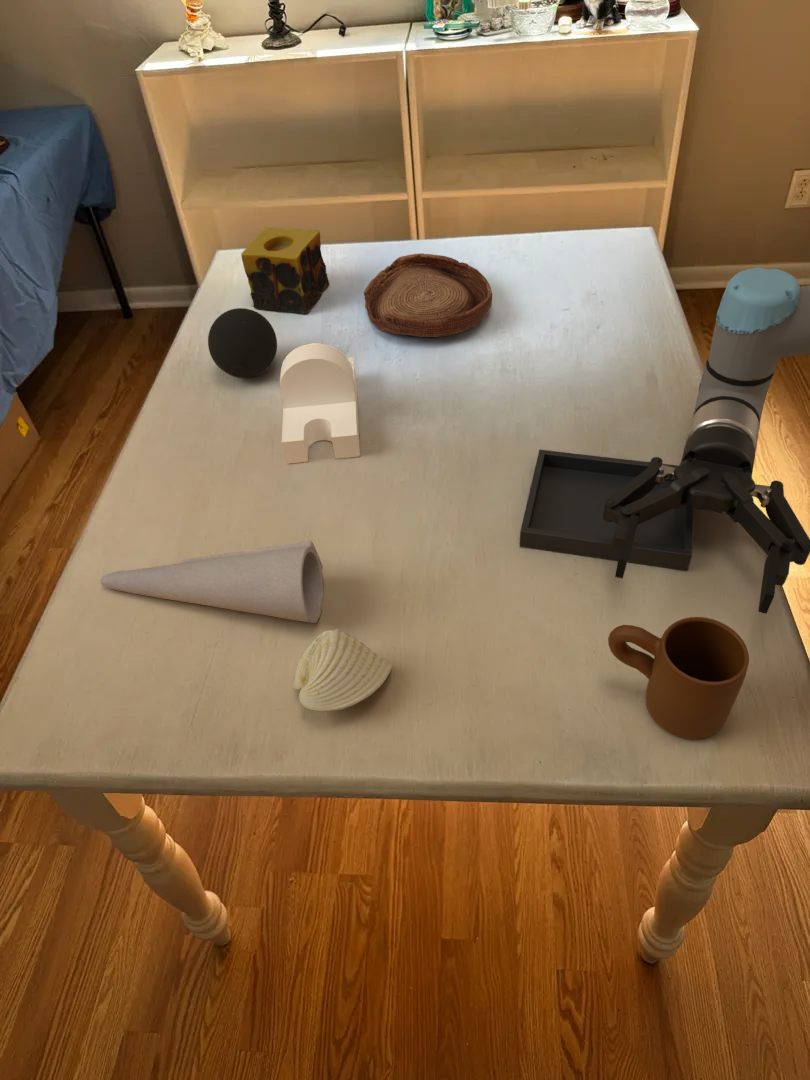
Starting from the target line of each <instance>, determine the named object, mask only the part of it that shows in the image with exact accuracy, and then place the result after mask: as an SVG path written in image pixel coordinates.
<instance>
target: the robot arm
mask: <svg viewBox="0 0 810 1080" xmlns="http://www.w3.org/2000/svg"><path fill="white" fill-rule="evenodd" d="M715 318H716V319H715V324H714V328H713V333H712V339H711V344H710V349H709V354H708V355H707V359H706V361H705V364H704V369H703V371H702V372H703V373H702V374H701V379H700V382H699V385H698V390H697V397H696V401H695V407H694V411H693V415H692V418H691V420H690V425H689V428H688V432H687V436H686V441H685V445H684V448H683V452H682V455H681V460H680V464H678V466H677V467H676V468H673V467H669V466H665V465H662V464H663V459H662V458H661V457H659V456H654V457H652V458H651V460H650V461H649V462H650V463H649V465H648V467H647V469H646V470H644V471H643V472H642V473H640V474H639V475H638V476H636V477H635V478H634V479H633V480H631V481H630V482H629V483H627V484H626V485H625V486H623V487H622V488H621V489H620V490H618V491H617V492H616V493H614V494H613V495H612V496H610V497H609V498H608V499H607V500H606V502H605V508H604V515H603V519H604V520H605V521H606V522H612V521H613V522H615V523H616V524H617V526H616V529H615V533H614V537H613V547H617V548H621V552H620V555H619V559H618V561H617V564H616V568H615V569H616V570H615V575H614V577H615V578H618V579H623V578H624V575H625V570H626V567H627V564H628V562H627V561H628V558H629V554H630V551H631V547H632V544H633V540H634V537H635V533H636V528H637V525H639V524H641V523H643V522H645V521H647V520H649V519H651V518H654V517H656V516H658V515H660V514H662V513H664V512H666V511H669V510H671V509H675V510H677V509H679V508H681V507H683V506H686V505H688V504H690V505H692V508H693V509H695V510H696V509H697V510H708V511H710V512H712V513H715V514H720V515H723V513H725V514H726V515H727V516H728V517H729V518H730V520H732V522H734V523H736V524H737V523H738V524H739V525H740V526H741V527H742V528H743V529H744V530H745V531H746V533H747V534H748V535H749V536H750V537H751V538H752V539H753V541H755V543H756V544H757V545H758V546H759V547H760V548H761V549H762V550H763V552H764V553H765V554H766V555H767V556H766V559H765V561H764V565H763V573H762V580H761V586H760V587H761V588H760V595H759V602H758V610H757V612H758V613H762V614H766V615H767V614H768V612H769V609H770V607H771V605H772V602H773V600H774V597H775V594H776V593H775V592H776V586H780V587H783V586H784V585H785V583H786V581H787V579H788V576H789V575H790V566H791V563H794V564H796V565H798V566H803V565H805V564H806V563H807V560H808V558H809V556H810V537H809V536H808V534H807V532H806V531H805V529H804V527H803V525H802V524H801V522H800V520H799V519H798V517H797V515H796V513H795V512H794V510H793V509H792V507H791V505H790V504H789V502H788V500H787V499H786V497H785V491H784V490H785V489H784V483H783V482H782V481H780V480H772V481H771V482H770V485H764V484H757V483H756V482H755V480H754V479H753V472H754V466H755V460H756V451H757V448H758V440H759V433H760V429H761V428H760V427H761V420H762V415H763V410H764V407H765V401H766V398H767V395H768V392H769V389H770V386H771V383H772V379H773V377H774V375H775V372H776V369H777V366H778V364H779V361H780V359H782V358H790V357H798V356H799V357H800V356H808V355H810V284H809V285H800V283H799V281H798V279H796V277H795V276H793V274H791V273H789V272H787V271H785V270H782V269H779V268H770V269H767V268H765V267H752V268H746V269H744V270H741V271H739V272H738V273H736V274H734V275H733V276H732V277H730V279H729V280H728V283H727V284H726V287H725V289H724V292H723V295H722V297H721V300H720V303H719V306H718V310H717V312H716V317H715ZM668 479H670V480H672V483H671V485H670V486H668V487H666V488H663V489H661V490H659V491H657V492H655V493H652V494H650V495H648V496H646V497H644V496H645V495H646V494H648V493H649V492H650V491H651V490H652V489H653V488H654V487H655V485H657V486H660V485H661V483H662V482H664V481H665V480H668ZM643 497H644V498H643ZM754 498H756V499H758V502H759V503H760V507H761V508H762V509H763V508H765V512H766V514H765V513H764V512H763V511H762V509H760V508H759V506H758V505H757V504H756V503H755V501H754Z"/></svg>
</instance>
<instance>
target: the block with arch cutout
mask: <svg viewBox="0 0 810 1080" xmlns="http://www.w3.org/2000/svg"><path fill="white" fill-rule="evenodd" d="M279 376H280V377H279V395H280V400H281V403H282V408H283V410H282V412H283V413H282V428H281V446H282V451H283V454H284V459H285V463H286V464H287V465H288V464H289V465H290V464H299V463H300V464H301V463H308V462H309V449H310V447H311V446H312V445H313V444H314V443H317V442H319V441H328V442H331V443H332V449H333V454H334V460H339V459H349V458H350V459H351V458H359V457H361V446H360V445H361V444H360V443H361V442H360V424H359V404H358V403H359V402H358V386H357V385H358V382H357V374H356V366H355V359H354V358H353V357H352V356H347V355H346V354H344V353H343V352H342V351H340V349H337V348H336V347H334V346H332V345H329V344H326V343H318V342H317V343H315V342H314V343H311V342H310V343H307V344H302V345H300V346H298V347H296V348H294V349H293V350H291V351H290V352H289V353H288V354H287V355H286V357H284V360H283V361H282V364H281V367H280V375H279Z"/></svg>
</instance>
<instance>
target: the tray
mask: <svg viewBox="0 0 810 1080" xmlns="http://www.w3.org/2000/svg"><path fill="white" fill-rule="evenodd" d="M649 463H650V461H642V460H633V459H625V458H616V457H609V456H600V455H590V454H582V453H572V452H564V451H558V450H557V451H556V450H546V449H539V450H538V454H537V458H536V464H535V466H534V471H533V476H532V481H531V484H530V488H529V492H528V496H527V501H526V506H525V510H524V514H523V517H522V521H521V522H522V523H521V527H520V531H519V532H520V533H519V547H520V548H524V549H525V548H526V549H531V550H533V549H534V550H540V551H546V552H552V553H560V554H567V555H568V554H569V555H574V556H581V557H588V558H596V559H602V560H609V561H616V562H618V559H619V555H620V552H621V548H617V547H613V537H614V533H615V529H616V526H617V524H616V523H615V522H613V521H612V522H606V521H605V520H604V519H603V515H604V508H605V502H606V500H607V499H608V498H609V497H610V496H612V495H613V494H614V493H616V492H617V491H618V490H620V489H621V488H622V487H623V486H625V485H626V484H627V483H629V482H630V481H631V480H633V479H634V478H635V477H636V476H638V475H639V474H640V473H642V472H643V471H644V470H646V469H647V467H648V465H649ZM662 465H665V466H669V467H673V468H676V467H677V466H679V464H678V465H676V464H668V463H662ZM671 483H672V480H670V479H668V480H665V481H664V482H662V483H661V485H660V486H657V485H655V487H654V488H653V489H652V490H651V491H650V492H649V493H648V494H646V495H645V496H644V497H646V496H648V495H650V494H652V493H655V492H657V491H659V490H661V489H663V488H666V487H668V486H670V485H671ZM644 497H643V498H644ZM693 529H694V508H692V505H690V504H688V505H686V506H683V507H681V508H679V509H677V510H675V509H671V510H669V511H666V512H664V513H662V514H660V515H658V516H656V517H654V518H651V519H649V520H647V521H645V522H643V523H641V524H639V525H637V528H636V533H635V537H634V540H633V544H632V547H631V551H630V554H629V558H628V561H627V563H628V564H629V563H630V564H636V565H644V566H649V567H657V568H664V569H671V570H676V571H677V570H679V571H683V572H684V571H685V572H687V571H688V570H689V567H690V564H691V560H692V557H693V532H694V530H693Z"/></svg>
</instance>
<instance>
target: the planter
mask: <svg viewBox="0 0 810 1080" xmlns="http://www.w3.org/2000/svg"><path fill="white" fill-rule="evenodd" d="M323 569H324V566H323V563H322V561H321V558H320V555H319V554H318V551H317V549H316V547H315V544H314V542H313V541H312V540H307V541H306V540H305V541H300V542H293V543H287V544H281V545H274V546H268V547H261V548H254V549H253V548H252V549H247V550H240V551H234V552H227V553H221V554H215V555H214V554H213V555H207V556H201V557H194V558H188V559H183V560H182V561H181V562H179V563H172V564H165V565H159V566H157V565H156V566H151V567H144V568H136V569H127V570H119V571H113V572H110V573H107V574H104V575H103V576H101V578H100V584H101V586H102V587H104V588H106V589H109V590H114V591H119V592H125V593H129V594H134V595H141V596H147V597H152V598H159V599H165V600H171V601H178V602H184V603H190V604H194V605H195V604H196V605H202V606H209V607H214V608H220V609H226V610H233V611H239V612H245V613H251V614H257V615H263V616H269V617H275V618H280V619H286V620H291V621H292V620H293V621H298V622H303V623H310V624H315V623H317V622H318V621H319V619H320V617H321V614H322V611H323V605H324V577H323V576H324V575H323Z"/></svg>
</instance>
